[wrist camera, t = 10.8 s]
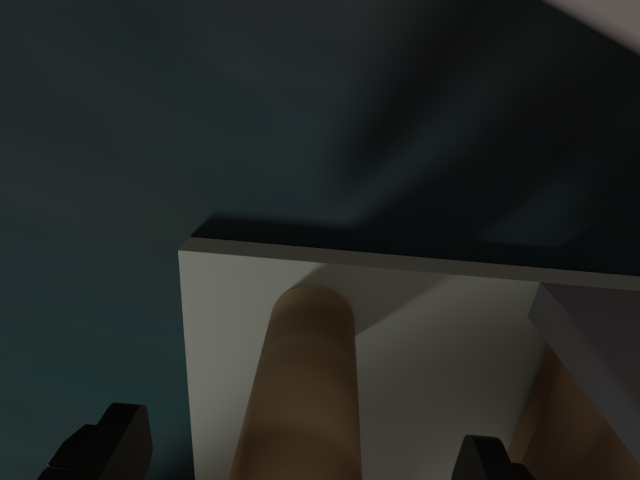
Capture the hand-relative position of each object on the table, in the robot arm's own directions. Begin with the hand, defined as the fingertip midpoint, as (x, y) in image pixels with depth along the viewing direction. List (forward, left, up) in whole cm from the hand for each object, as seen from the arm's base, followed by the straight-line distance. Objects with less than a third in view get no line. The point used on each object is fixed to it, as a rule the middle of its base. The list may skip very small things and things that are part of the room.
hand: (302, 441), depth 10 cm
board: (-4, -6, -7) cm, 10 cm away
